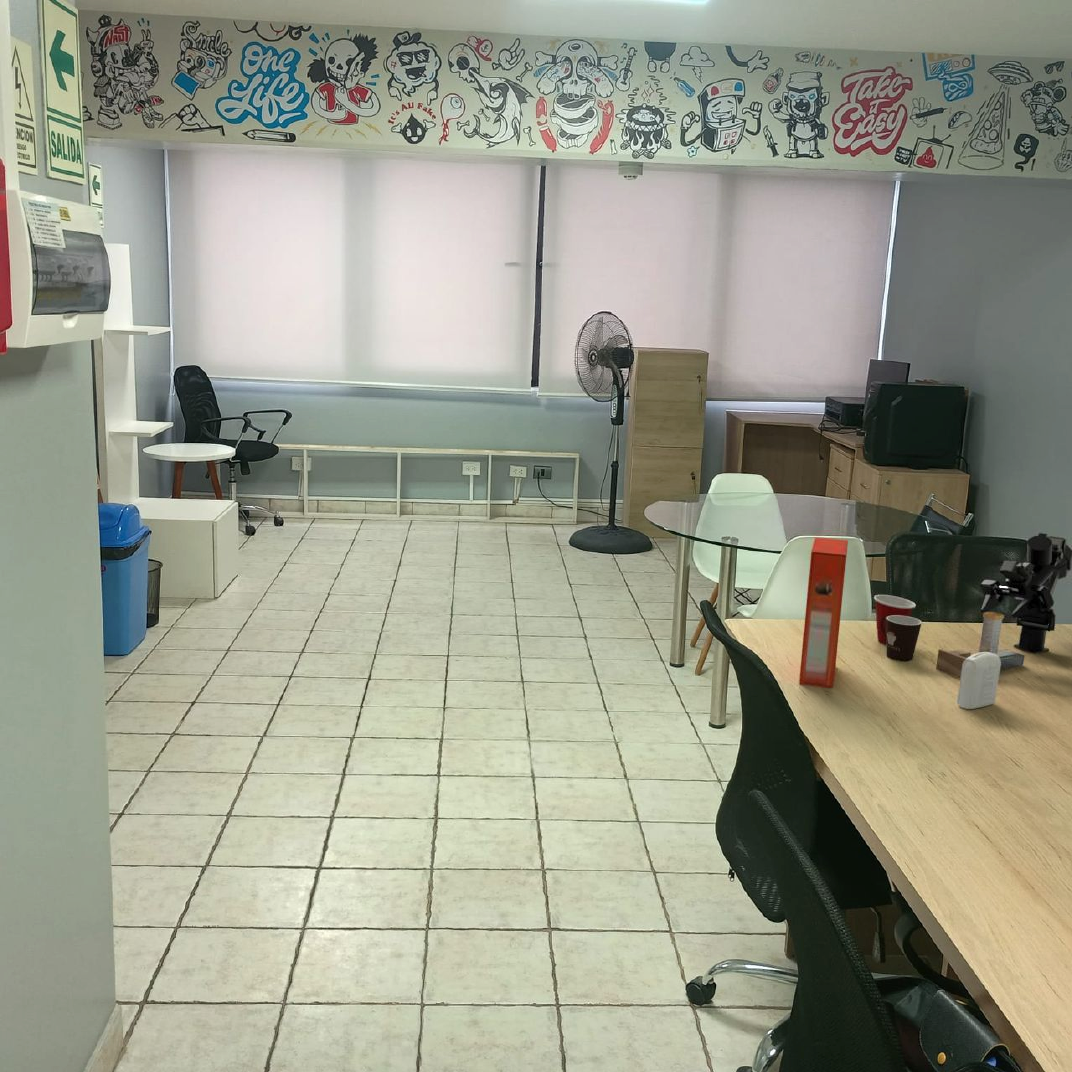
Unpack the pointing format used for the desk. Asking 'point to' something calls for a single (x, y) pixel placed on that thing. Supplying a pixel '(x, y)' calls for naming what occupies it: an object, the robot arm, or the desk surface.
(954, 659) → the socket
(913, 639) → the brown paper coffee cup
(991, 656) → the photo printer
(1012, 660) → the sleeve
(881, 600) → the plastic cup
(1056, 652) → the desk surface
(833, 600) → the file binder
